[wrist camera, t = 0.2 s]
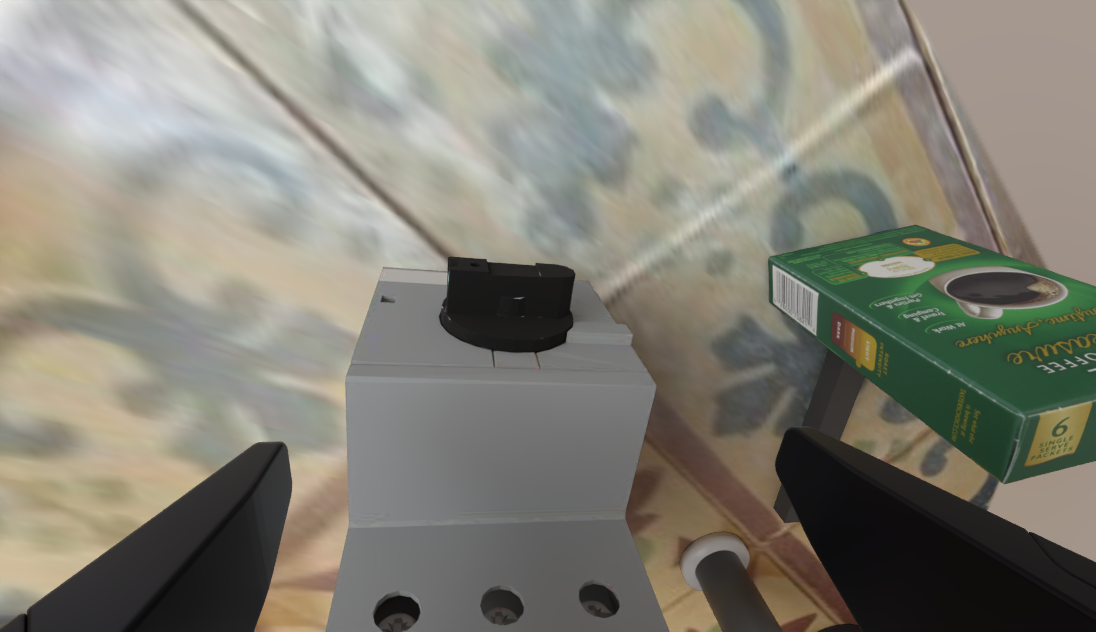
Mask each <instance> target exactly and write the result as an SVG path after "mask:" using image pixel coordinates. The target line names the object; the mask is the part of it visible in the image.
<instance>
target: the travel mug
mask: <svg viewBox="0 0 1096 632" xmlns="http://www.w3.org/2000/svg"><path fill="white" fill-rule="evenodd" d="M819 632H862V630H861V629H860V627H859V626H856V625H850V624H845V625H837V626H832V627H829V628H826V629H824V630H821V631H819Z"/></svg>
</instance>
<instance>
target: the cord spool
mask: <svg viewBox="0 0 1096 632" xmlns="http://www.w3.org/2000/svg"><path fill="white" fill-rule="evenodd" d="M749 560H750V556H749V552H748V550H747V549H746V547H745V546H744V544H743V542H742V541H741V539H740V538H739V537H738V536H736V535H735V534H732V533H728V532H715V533H711V534H708V535H705V536H703V537H701V538H699V539H697V540H695V541H694V542H693V543H691V544H690V545H689V546H688V547H687V548H686V550H685V551H684V552H683V554H682V556H681V559H680V569H681V572H682V574H683V576H684V578H685V580H686V582H687V584H688V585H689V586H690V587H692V588H693V589H696V590H699V591H703V593H704V595H705V597H706V599H707V601H708V603H709V605H710V607H711V609H712V611H713V613H714V615H715V617H716V619H717V621H718V623H719V625H720V627H721V630H722V632H783V631H782V629H781V628H780V626H779V624H778V622H777V621H776V619H775V617H774V616H773V614H772V612H771V611H770V609H769V607H768V606H767V604H766V602H765V601H764V599H763V597H762V596H761V594H760V592H759V591H758V589H757V587H756V585H755V584H754V582H753V580H752V579H751V577H750V575H749V574H748V572H747V570H746V569H747V567H748V565H749Z"/></svg>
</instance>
